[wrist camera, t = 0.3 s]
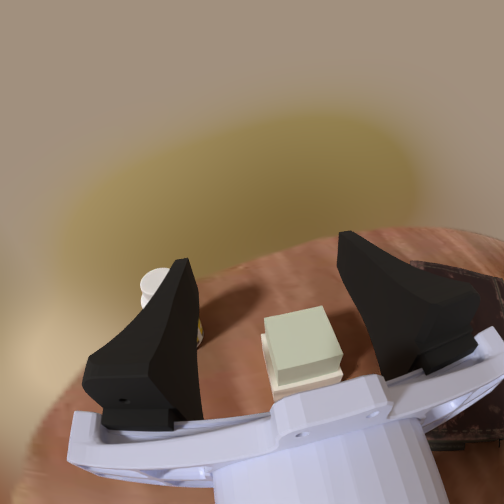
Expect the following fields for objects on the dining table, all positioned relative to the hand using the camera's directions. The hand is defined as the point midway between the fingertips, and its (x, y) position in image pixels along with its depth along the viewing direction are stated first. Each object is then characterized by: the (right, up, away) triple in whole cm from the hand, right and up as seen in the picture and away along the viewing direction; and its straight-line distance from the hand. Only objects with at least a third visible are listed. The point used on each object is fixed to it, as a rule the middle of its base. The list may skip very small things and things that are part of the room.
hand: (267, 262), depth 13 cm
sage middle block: (+4, -10, +14) cm, 18 cm away
